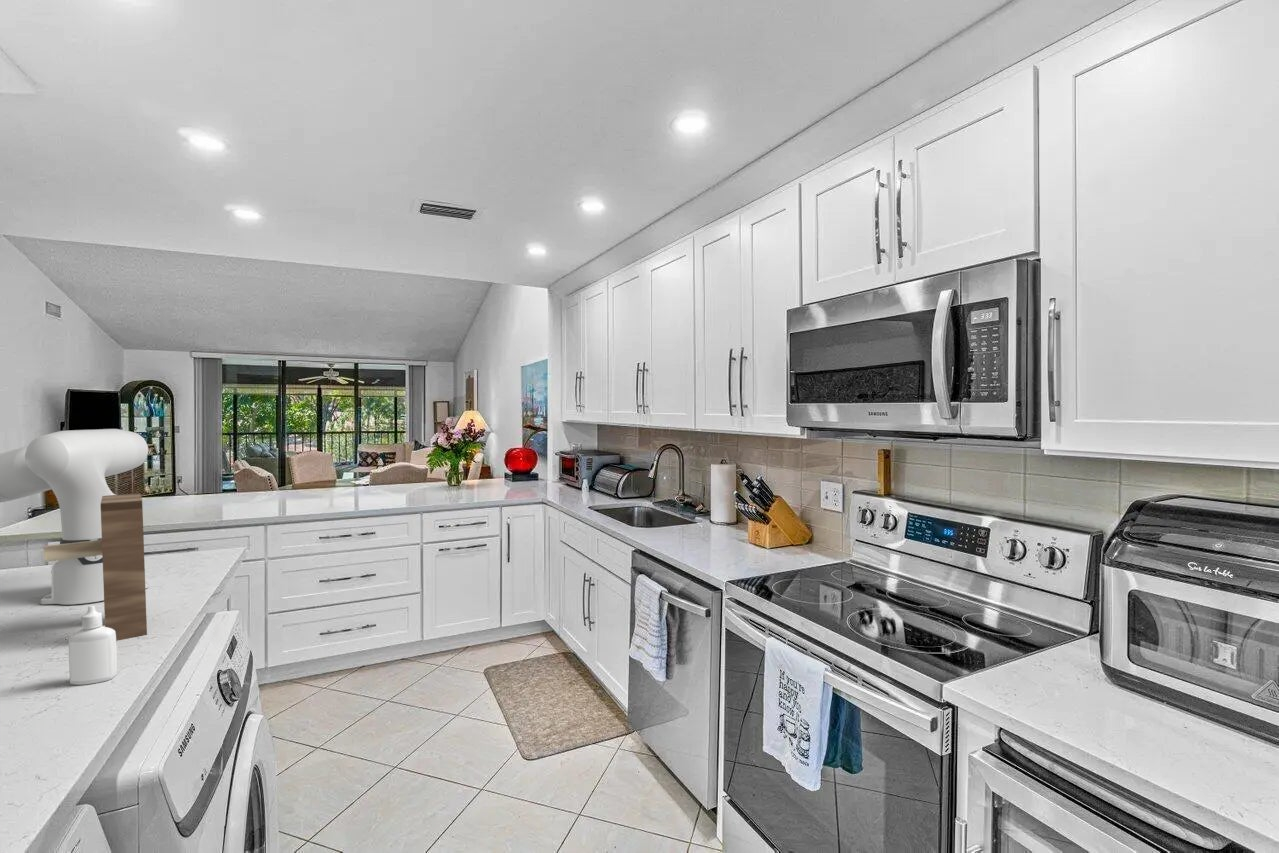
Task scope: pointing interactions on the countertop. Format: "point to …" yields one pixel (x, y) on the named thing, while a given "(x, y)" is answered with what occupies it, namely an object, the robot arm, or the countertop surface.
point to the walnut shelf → (123, 565)
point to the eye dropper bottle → (92, 651)
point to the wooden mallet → (72, 550)
